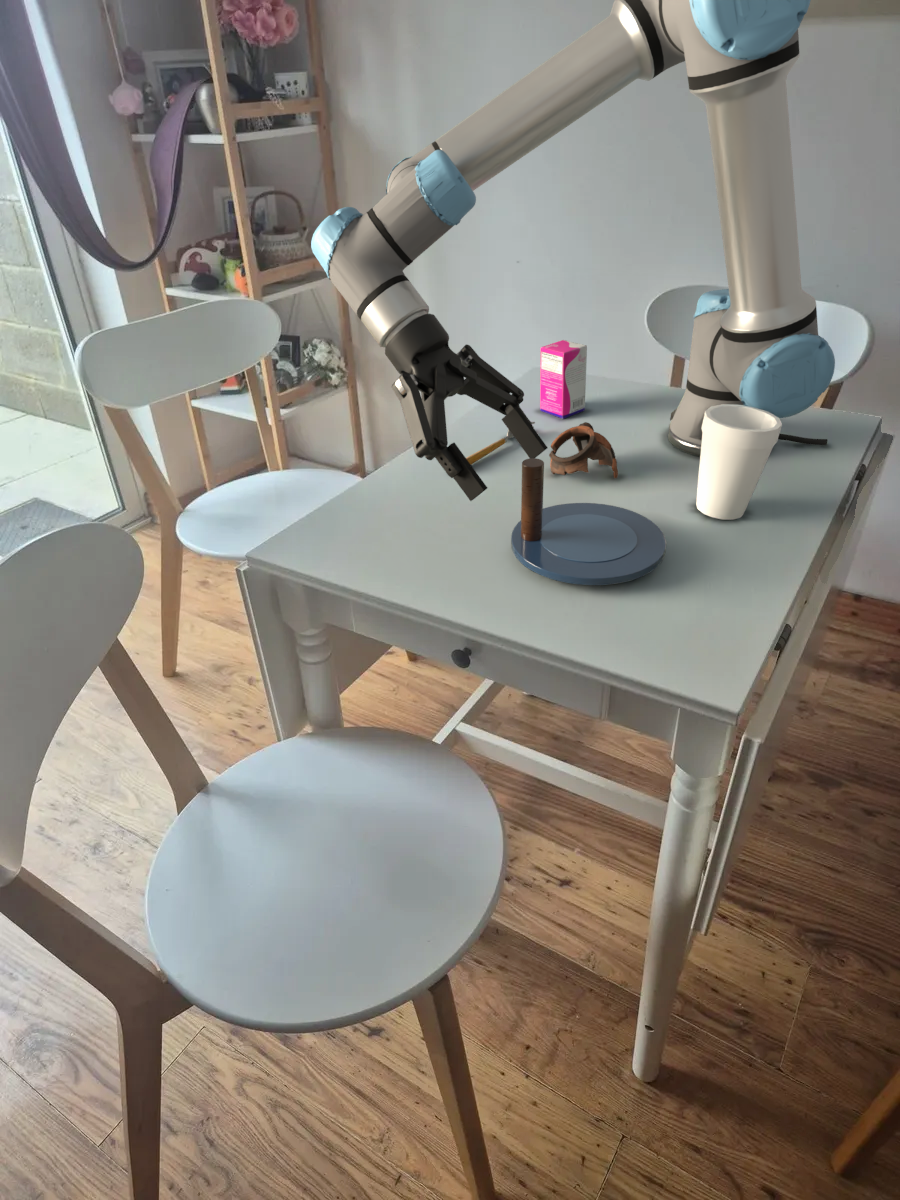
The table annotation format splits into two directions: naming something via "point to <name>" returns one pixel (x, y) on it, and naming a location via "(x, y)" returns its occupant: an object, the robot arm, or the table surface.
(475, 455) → the fork
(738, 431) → the foam cup
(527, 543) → the blue disc with rod
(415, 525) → the table surface
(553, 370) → the supplement box
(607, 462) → the broken brown clay pot
